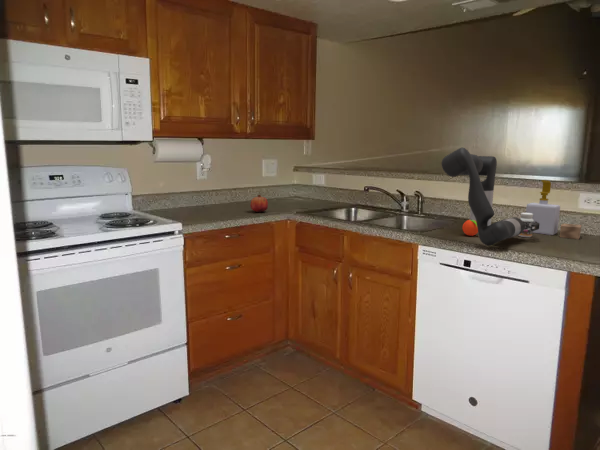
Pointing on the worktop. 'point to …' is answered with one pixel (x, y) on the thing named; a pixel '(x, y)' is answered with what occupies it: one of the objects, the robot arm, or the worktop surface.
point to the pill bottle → (526, 218)
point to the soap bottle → (545, 212)
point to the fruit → (259, 204)
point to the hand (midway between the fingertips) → (525, 222)
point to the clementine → (470, 227)
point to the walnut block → (570, 231)
